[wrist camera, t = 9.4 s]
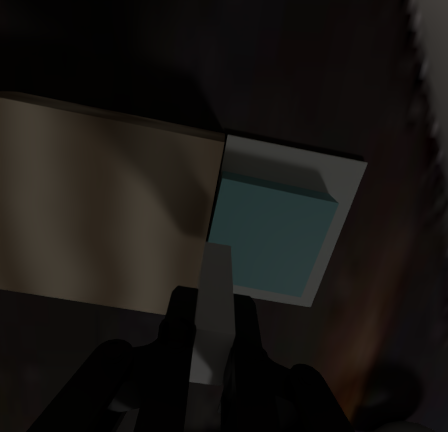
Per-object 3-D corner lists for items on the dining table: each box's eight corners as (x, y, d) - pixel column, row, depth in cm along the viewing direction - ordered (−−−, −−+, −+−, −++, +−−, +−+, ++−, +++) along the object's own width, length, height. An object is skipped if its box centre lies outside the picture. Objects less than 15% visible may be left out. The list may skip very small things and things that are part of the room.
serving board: (30, 258, 24) (-6, 288, 20) (16, 91, 19) (-35, 90, 15) (196, 285, 25) (190, 318, 21) (225, 133, 20) (224, 142, 16)
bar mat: (198, 285, 25) (198, 288, 24) (227, 134, 20) (227, 134, 19) (309, 304, 25) (310, 307, 25) (364, 161, 20) (367, 163, 20)
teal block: (201, 263, 23) (199, 278, 21) (222, 170, 20) (222, 178, 18) (295, 281, 24) (300, 297, 22) (329, 193, 21) (339, 203, 19)
